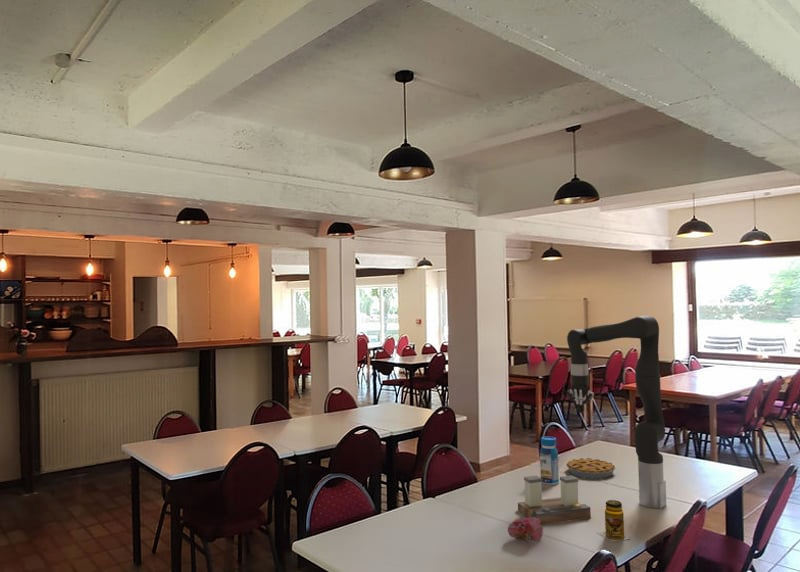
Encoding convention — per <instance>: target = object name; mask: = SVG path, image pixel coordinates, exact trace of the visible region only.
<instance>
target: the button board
mask: <svg viewBox="0 0 800 572" xmlns="http://www.w3.org/2000/svg"><path fill="white" fill-rule="evenodd" d="M517 511H518V512H519V513H521V514H522V515H524V516H525V517H526V518H532V517H535V518H537V519H539V520H540V522H541V523H540V526H543V525H548V524H549V525H550V524H556V523H563V522H565V523H566V522H571V521H577V520H586V519H591V507H590V506H589V505H587V504H585V503H579V502H578V504H573V505H571V506H565V505H563V504H561V496H560V497H551V498H545V499H543V498H542V505H540V506H533V507H530V506H529V505H527V504H526V503H525V501H521V502H520V501H519V502H517Z"/></svg>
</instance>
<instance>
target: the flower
mask: <svg viewBox="0 0 800 572" xmlns="http://www.w3.org/2000/svg"><path fill="white" fill-rule="evenodd" d="M540 523H541V522H540V520H539V519H537V518H535V517H532V518H528V517H524V518H522V519H515V520H514V521H512V522H511V524H509V525H508V527H507V533H508V535H509V536H510V537H512V538H515V539H517V538H522V539H523V540H526V542H527V543H528V546H529V547H530V548H531V546H530V544H529V540H530V539H532V540H533V541H536V542H537V541H538V542H539V541H541V540H542V537H543V533H544V532H543V530H544V529H543V525H540Z"/></svg>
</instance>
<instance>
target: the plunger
mask: <svg viewBox="0 0 800 572" xmlns="http://www.w3.org/2000/svg"><path fill="white" fill-rule="evenodd" d="M523 480H524V498H525V500H524V502H525V503H526V504H527V505H529V506H530V507H533V506H540V505H542V500H543V492H542V491H543V489H542V486H543V485H542V484H543V483H542V478H541V476H538V475H530V476H523Z"/></svg>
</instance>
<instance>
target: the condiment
mask: <svg viewBox="0 0 800 572" xmlns="http://www.w3.org/2000/svg"><path fill="white" fill-rule="evenodd" d="M624 519H625V518H624V511H623V505H622V502H621V501H619V500H615V499H610V500H607V501H605V509H604V522H605V523H604V524H605V525H604V528H605V531H600V532H597V533H598V534H599V535H601V536H602V537H603V538H605V539H607V540H608V541H610V542H612V543H615V542H620V541H626V540H629V539H631V538H630V537H628V536H626V535H625V522H624V521H625V520H624Z"/></svg>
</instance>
